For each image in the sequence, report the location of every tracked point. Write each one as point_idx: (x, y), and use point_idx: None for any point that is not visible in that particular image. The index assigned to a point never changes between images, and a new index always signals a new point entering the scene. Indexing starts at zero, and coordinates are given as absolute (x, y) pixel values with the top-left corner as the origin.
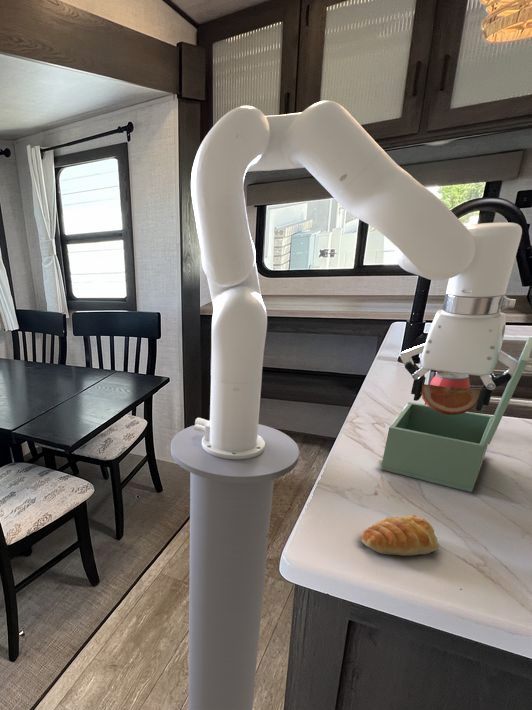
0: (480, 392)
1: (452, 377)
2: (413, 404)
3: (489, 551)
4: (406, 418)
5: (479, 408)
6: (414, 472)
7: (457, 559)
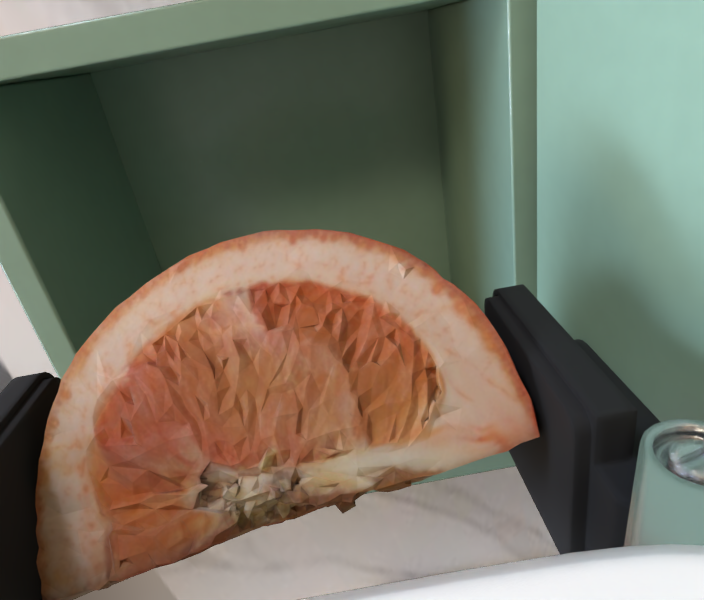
0: (555, 538)
1: None
2: None
3: (546, 537)
4: (53, 207)
5: None
6: None
7: None
